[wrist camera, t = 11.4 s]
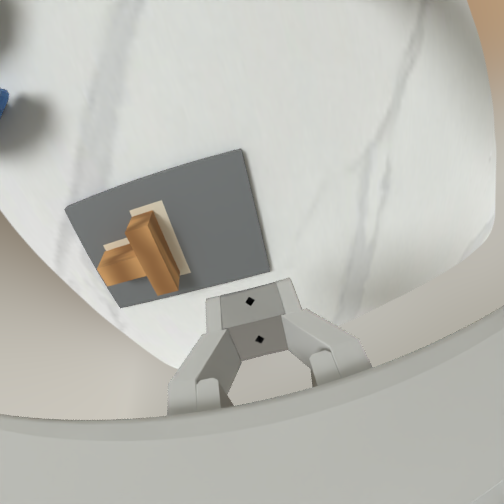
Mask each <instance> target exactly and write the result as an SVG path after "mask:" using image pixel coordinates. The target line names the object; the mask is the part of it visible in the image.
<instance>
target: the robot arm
mask: <svg viewBox="0 0 504 504" xmlns="http://www.w3.org/2000/svg"><path fill="white" fill-rule="evenodd" d="M205 303H206V332H207V333H206V334H202V336H201V337H200V339H199V340H198V342H197V343H196V345H195V346H194V347H193V349H192V350H191V352H190V353H189V355H188V356H187V358H186V359H185V361H184V362H183V363H182V365H181V366H180V368H179V369H178V371H177V372H176V374H175V375H174V377H173V378H172V379H171V381H170V383H169V384H168V410H167V411H168V412H167V416H160V417H149V418H136V419H116V420H59V419H41V418H28V417H19V416H10V415H3V414H0V504H504V306H502V307H500V308H499V309H497V310H495V311H493V312H492V313H490V314H488V315H486V316H485V317H483V318H481V319H479V320H478V321H476V322H474V323H472V324H470V325H468V326H467V327H464V328H463V329H460V330H458V331H456V332H455V333H453V334H450V335H448V336H446V337H444V338H442V339H440V340H438V341H436V342H434V343H432V344H430V345H427V346H425V347H423V348H420V349H418V350H416V351H414V352H411V353H409V354H406V355H404V356H402V357H399V358H397V359H394V360H392V361H389V362H387V363H384V364H381V365H379V366H376V367H372V365H371V363H370V361H369V359H368V357H367V355H366V352H365V350H364V348H363V346H362V344H361V342H360V340H359V339H358V338H357V337H355V336H353V335H352V334H349V333H348V332H346V331H345V330H342V329H341V328H339V327H338V326H336V325H334V324H332V323H331V322H329V321H327V320H325V319H324V318H322V317H320V316H319V315H317V314H315V313H313V312H312V311H310V310H308V309H307V308H306V309H303V310H302V307H301V305H300V302H299V299H298V297H297V294H296V291H295V289H294V286H293V284H292V281H291V279H290V278H286V279H283V280H279V281H276V282H273V283H270V284H266V285H262V286H258V287H254V288H251V289H247V290H242V291H238V292H233V293H229V294H224V295H220V296H217V297H212V298H208V299H206V302H205ZM285 350H289V351H290V352H291V353H292V354H293V355H295V356H296V357H297V358H298V359H299V360H301V361H302V362H303V363H304V364H305V365H307V366H308V367H309V368H310V369H311V377H312V388H309V389H305V390H302V391H298V392H294V393H290V394H286V395H283V396H278V397H275V398H270V399H266V400H261V401H256V402H252V403H247V404H242V405H237V406H234V405H233V404H232V402H231V400H230V399H229V398H228V396H227V394H228V392H229V390H230V388H231V385H232V383H233V381H234V379H235V377H236V374H237V372H238V370H239V368H240V365H241V363H242V362H241V361H244V360H248V359H252V358H256V357H259V356H263V355H267V354H272V353H276V352H281V351H285Z"/></svg>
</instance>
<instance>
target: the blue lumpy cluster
mask: <svg viewBox="0 0 504 504" xmlns="http://www.w3.org/2000/svg"><path fill="white" fill-rule="evenodd" d="M8 98H9V93H8V91H7V90H5V89H1V88H0V118H1V116H2V113H3V110H4V109H5V107H6V104H7V102H8Z"/></svg>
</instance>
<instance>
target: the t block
mask: <svg viewBox="0 0 504 504" xmlns="http://www.w3.org/2000/svg"><path fill="white" fill-rule="evenodd" d="M125 235H126V237H127V239H128V241H129V243H130V244H127V245H124V246H120V247H117V248H114V249H111V250H108V251H105V252H104V254H103V256H102V258H101V261H100V263H99V265H98V267H97V270H98V272H99V274H100V275H101V277H102V279H103V280H104V282H105V283H106V285H107V287H108V286H111V285H115V284H119V283H122V282H126V281H130V280H133V279H137V278H141V277H144V276H147V277H148V279H149V281H150V283H151V285H152V287H153V288H154V290H155V292H156V294H157V296H159V295H163V294H167V293H171V292H175V291H178V290H179V278H180V271H179V269H178V266H177V264H176V262H175V260H174V258H173V256H172V253H171V251H170V249H169V247H168V244H167V242H166V240H165V238H164V235H163V233H162V231H161V228H160V226H159V224H158V221H157V219H156V217H155V214H154V212H153V210H151V211H148V212H145V213H142V214H139V215H136V216H133V217H131V220H130V222H129V224H128V226H127V229H126V231H125Z"/></svg>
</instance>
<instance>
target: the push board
mask: <svg viewBox="0 0 504 504" xmlns="http://www.w3.org/2000/svg"><path fill="white" fill-rule="evenodd" d="M151 210H153V212H154V214H155V217H156V219H157V221H158V224H159V226H160V228H161V231H162V233H163V235H164V238H165V240H166V242H167V244H168V247H169V249H170V251H171V253H172V256H173V258H174V260H175V262H176V264H177V266H178V269H179V271H180V278H179V290H178V291H175V292H171V293H167V294H163V295H159V296H157V294H156V292H155V290H154V288H153V287H152V285H151V283H150V281H149V279H148V277H147V276H144V277H141V278H137V279H133V280H130V281H126V282H122V283H119V284H115V285H111V286H108V287H107V288H108V289H109V291H110V293H111V294H112V296H113V297H114V299H115V301H116V302H117V304H118V305H119V307H120V308H123V307H128V306H132V305H136V304H141V303H145V302H149V301H153V300H158V299H162V298H166V297H170V296H174V295H179V294H183V293H187V292H191V291H195V290H199V289H203V288H207V287H211V286H215V285H219V284H223V283H227V282H231V281H235V280H239V279H243V278H247V277H251V276H255V275H258V274H262V273H266V272H270V269H269V264H268V260H267V256H266V251H265V247H264V243H263V238H262V234H261V230H260V226H259V221H258V217H257V213H256V209H255V204H254V200H253V196H252V192H251V188H250V183H249V179H248V175H247V171H246V167H245V163H244V159H243V155H242V151H241V149H237V150H233V151H230V152H226V153H222V154H218V155H214V156H211V157H207V158H204V159H200V160H197V161H193V162H190V163H186V164H183V165H180V166H177V167H173V168H170V169H167V170H164V171H161V172H158V173H155V174H152V175H149V176H146V177H143V178H140V179H137V180H134V181H131V182H128V183H125V184H123V185H120V186H117V187H115V188H112V189H109V190H107V191H104V192H101V193H99V194H96V195H94V196H91V197H89V198H86V199H84V200H81V201H79V202H76V203H74V204H71V205H69V206H67V207H66V208H65V212H66V214H67V216H68V218H69V220H70V222H71V224H72V226H73V228H74V230H75V231H76V233H77V235H78V237H79V239H80V241H81V243H82V245H83V247H84V248H85V250H86V252H87V254H88V256H89V257H90V259H91V261H92V263H93V264H94V266H95V268H96V270H97V267H98V265H99V263H100V261H101V258H102V256H103V254H104V252H105V251H108V250H111V249H114V248H117V247H120V246H124V245H127V244H130V243H129V241H128V239H127V237H126V235H125V231H126V229H127V226H128V224H129V222H130V220H131V217H133V216H136V215H139V214H142V213H145V212H148V211H151ZM97 271H98V270H97ZM98 273H99V272H98ZM99 275H100V274H99ZM100 276H101V275H100ZM101 278H102V277H101ZM102 280H103V279H102ZM103 281H104V280H103ZM104 283H105V282H104ZM105 285H106V283H105ZM106 286H107V285H106Z"/></svg>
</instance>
